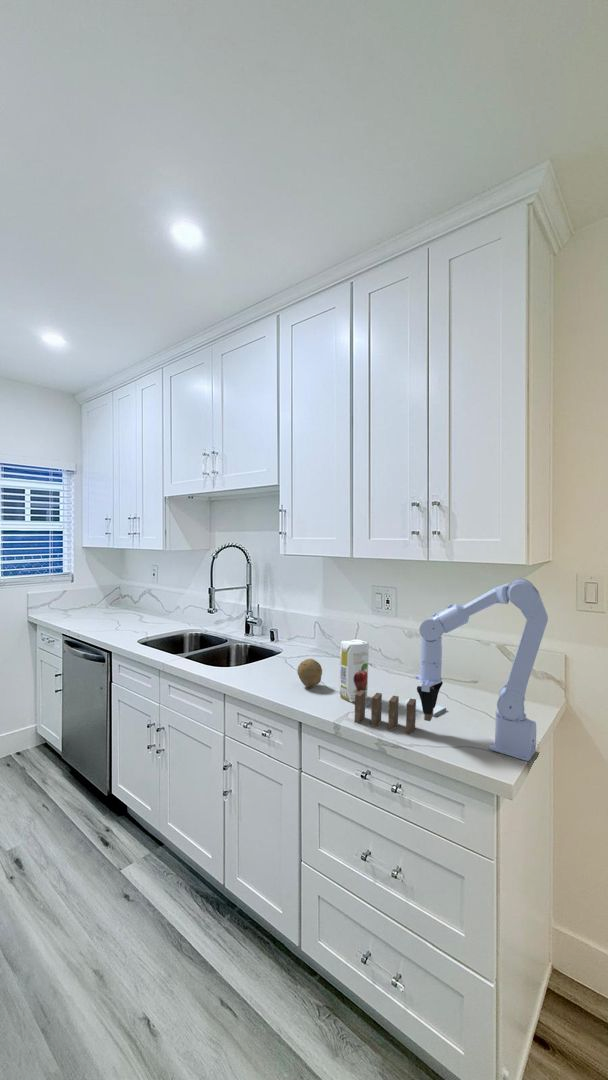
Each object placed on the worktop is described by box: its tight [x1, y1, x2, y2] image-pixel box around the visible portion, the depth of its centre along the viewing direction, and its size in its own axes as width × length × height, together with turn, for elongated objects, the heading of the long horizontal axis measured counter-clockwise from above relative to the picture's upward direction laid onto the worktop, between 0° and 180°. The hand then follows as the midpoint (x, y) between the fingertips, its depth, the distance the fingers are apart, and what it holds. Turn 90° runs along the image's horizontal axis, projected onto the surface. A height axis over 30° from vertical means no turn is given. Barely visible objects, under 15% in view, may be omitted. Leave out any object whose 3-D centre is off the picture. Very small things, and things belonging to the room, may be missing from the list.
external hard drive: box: [398, 697, 447, 718], centre depth 149 cm, size 2×8×12 cm
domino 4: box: [405, 697, 417, 734], centre depth 132 cm, size 2×5×8 cm, turn 155°
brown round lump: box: [296, 658, 323, 689], centre depth 167 cm, size 9×9×10 cm
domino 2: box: [370, 692, 383, 727], centre depth 136 cm, size 2×5×8 cm, turn 155°
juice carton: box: [339, 639, 370, 703], centre depth 156 cm, size 8×9×19 cm
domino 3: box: [387, 695, 400, 731], centre depth 134 cm, size 2×5×8 cm, turn 155°
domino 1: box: [353, 690, 366, 724], centre depth 138 cm, size 2×5×8 cm, turn 155°
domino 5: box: [423, 687, 434, 722], centre depth 130 cm, size 2×5×8 cm, turn 155°
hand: (429, 710), depth 130 cm, fingers closed on domino 5, 5 cm apart
